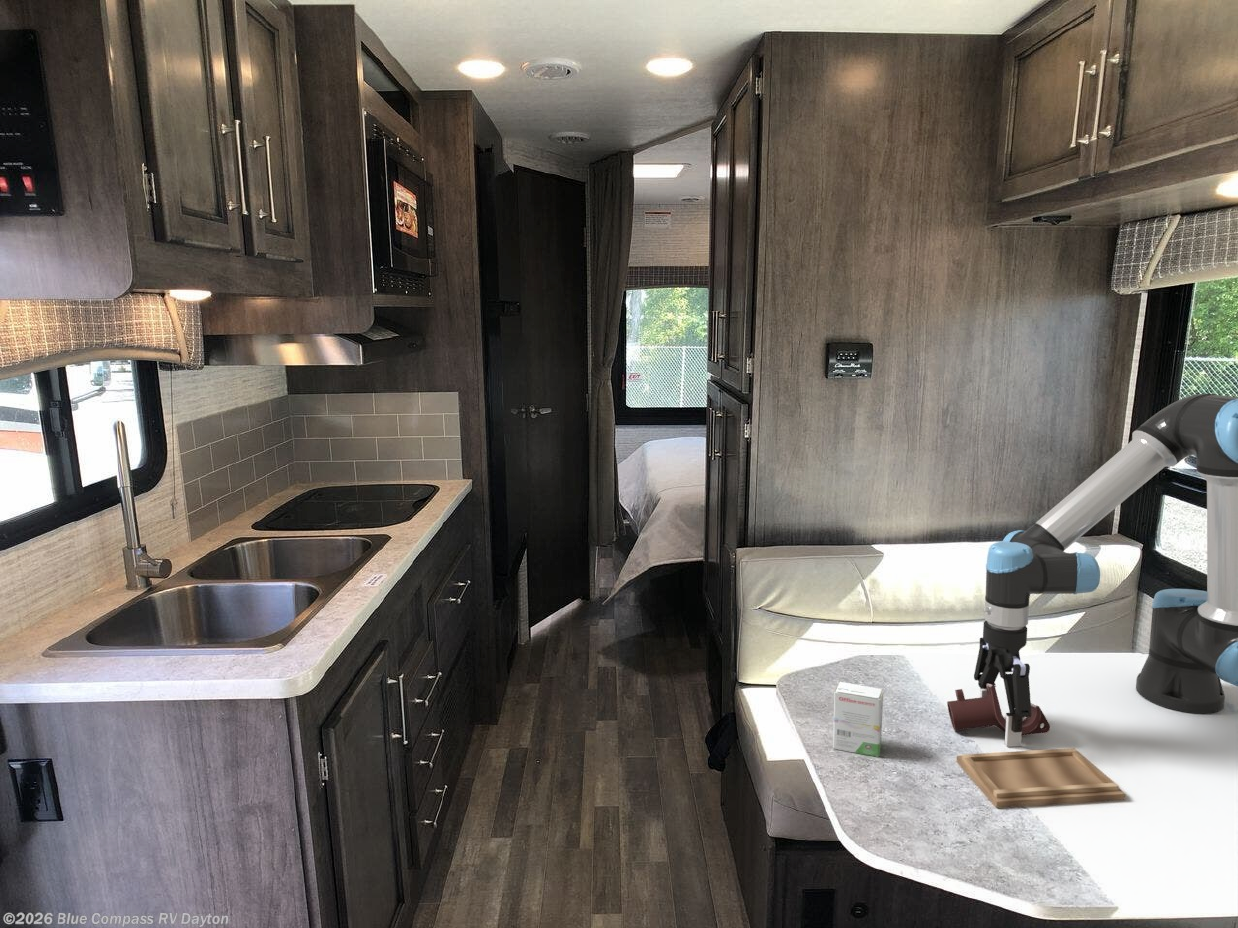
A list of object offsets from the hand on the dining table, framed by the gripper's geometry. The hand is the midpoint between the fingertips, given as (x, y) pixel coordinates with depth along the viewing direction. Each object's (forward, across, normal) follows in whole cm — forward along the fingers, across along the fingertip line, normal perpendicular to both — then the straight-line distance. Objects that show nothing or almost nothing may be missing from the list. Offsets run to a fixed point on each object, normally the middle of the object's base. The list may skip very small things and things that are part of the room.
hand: (998, 731), depth 152 cm
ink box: (+1, +2, -29) cm, 29 cm away
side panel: (0, +16, -2) cm, 16 cm away
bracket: (0, -1, 0) cm, 1 cm away
